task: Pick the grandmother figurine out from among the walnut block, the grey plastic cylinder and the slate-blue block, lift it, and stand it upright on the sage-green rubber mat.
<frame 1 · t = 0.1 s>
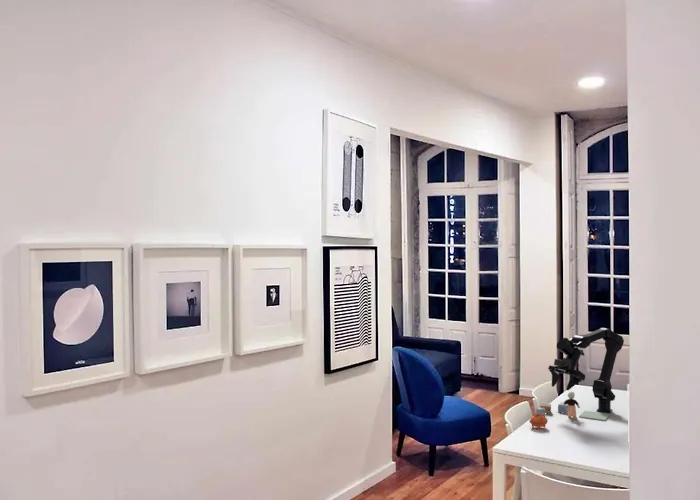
hand: (559, 388, 298), 15 cm above the table, tool tilted 30°, fingers open, 9 cm apart
walnut block: (545, 412, 310), on the table
slate-blue block: (563, 411, 312), on the table
pot: (538, 428, 283), on the table
sage mat: (594, 416, 303), on the table
grey cylinder: (540, 416, 302), on the table
grandmother figurine: (571, 418, 300), on the table
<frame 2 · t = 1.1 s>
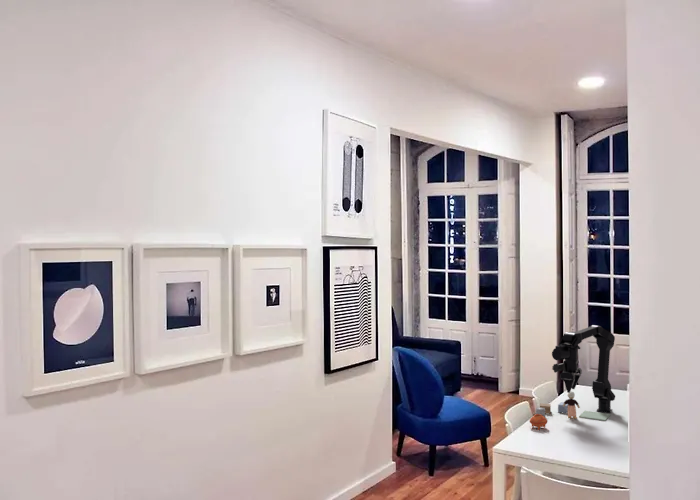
hand: (570, 390, 300), 13 cm above the table, tool pointing down, fingers open, 9 cm apart
nothing on the table moved.
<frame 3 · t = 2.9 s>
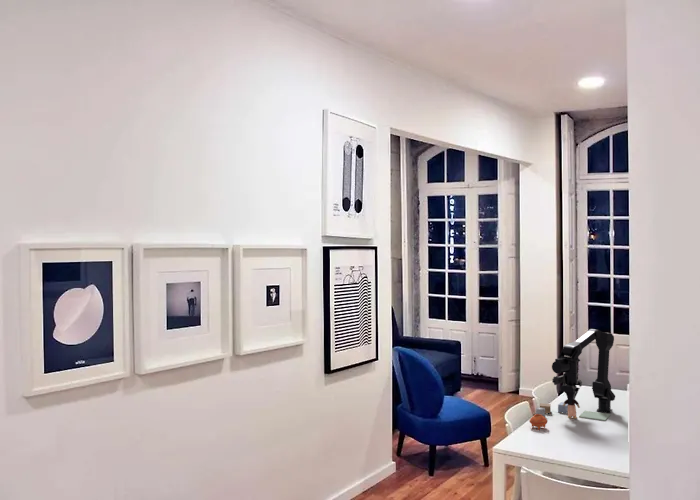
hand: (571, 403, 300), 7 cm above the table, tool pointing down, fingers closed on grandmother figurine, 3 cm apart
grandmother figurine: (571, 418, 300), on the table, touching gripper
everything else where it was.
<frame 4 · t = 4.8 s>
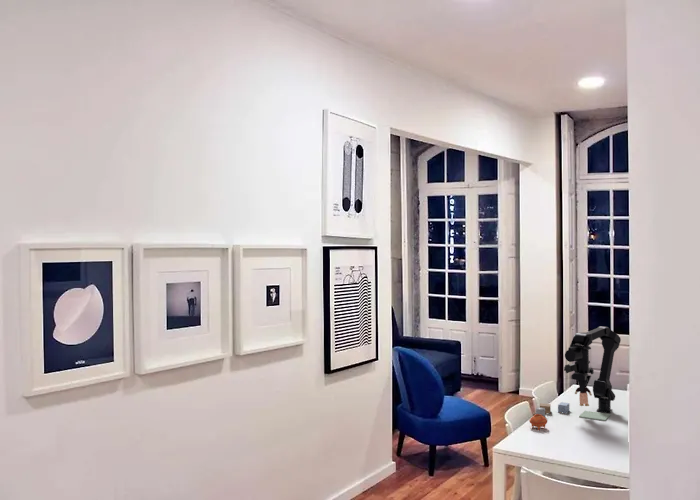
hand: (582, 391, 301), 13 cm above the table, tool pointing down, fingers closed on grandmother figurine, 3 cm apart
grandmother figurine: (583, 405, 301), point 5 cm above the table, touching gripper
everything else where it was.
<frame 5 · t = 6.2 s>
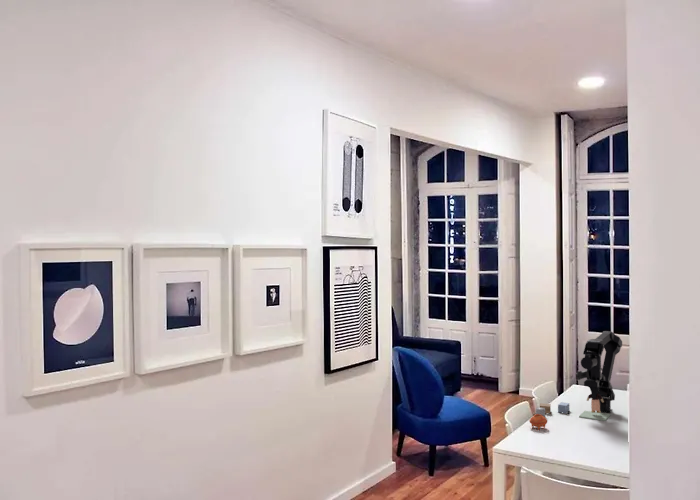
hand: (594, 397, 303), 9 cm above the table, tool pointing down, fingers closed on grandmother figurine, 3 cm apart
grandmother figurine: (594, 412, 303), point 2 cm above the table, touching gripper
everything else where it was.
when the fingers open (9 cm above the table, at t = 6.9 s): grandmother figurine stays where it is, resting on sage mat.
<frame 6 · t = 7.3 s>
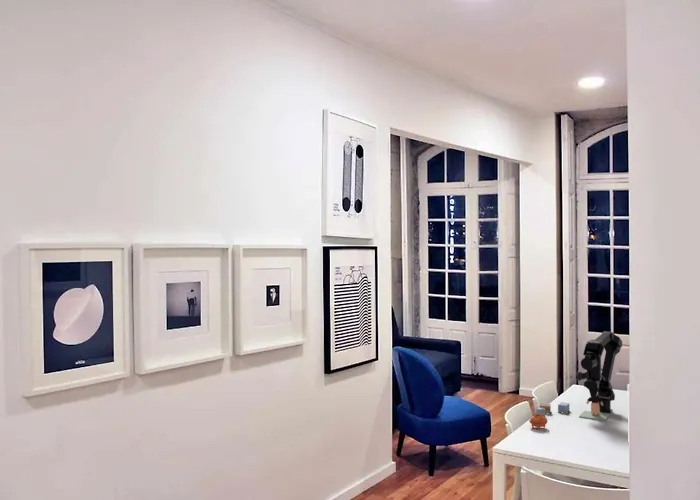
hand: (594, 398, 303), 9 cm above the table, tool pointing down, fingers open, 7 cm apart
grandmother figurine: (594, 415, 303), resting on sage mat
everything else where it was.
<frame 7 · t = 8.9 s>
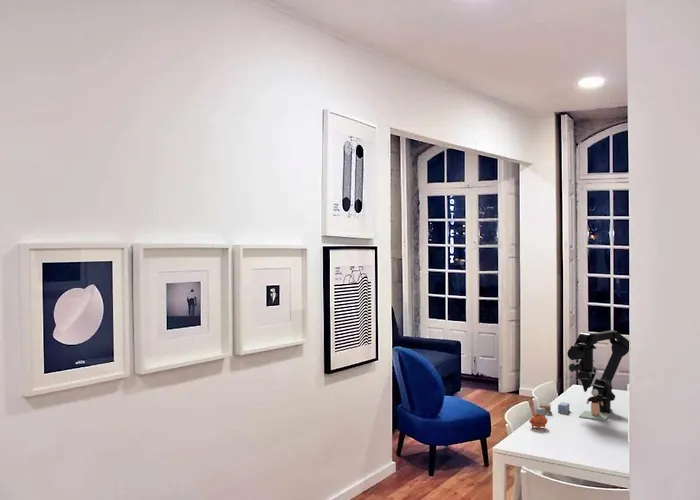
hand: (587, 389, 307), 12 cm above the table, tool pointing down, fingers open, 9 cm apart
nothing on the table moved.
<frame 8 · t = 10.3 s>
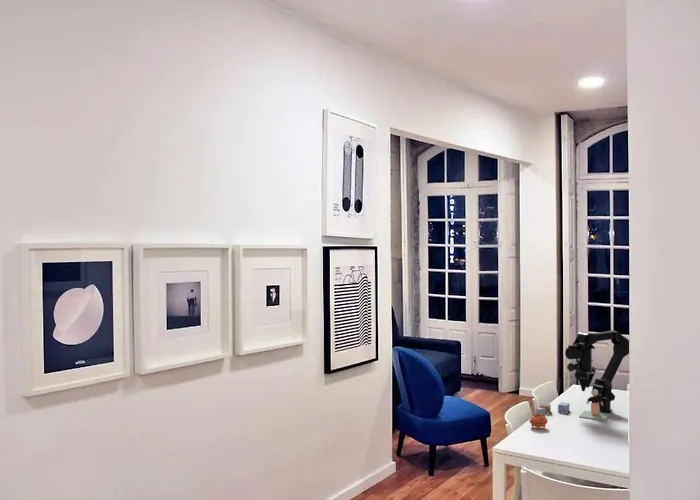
hand: (585, 389, 308), 12 cm above the table, tool pointing down, fingers open, 9 cm apart
nothing on the table moved.
at the end: grandmother figurine inside the target area on the sage mat (0.0 cm from its centre), point 0.4 cm above the sage mat's base; grandmother figurine tilted 0°; the gripper is holding nothing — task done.
